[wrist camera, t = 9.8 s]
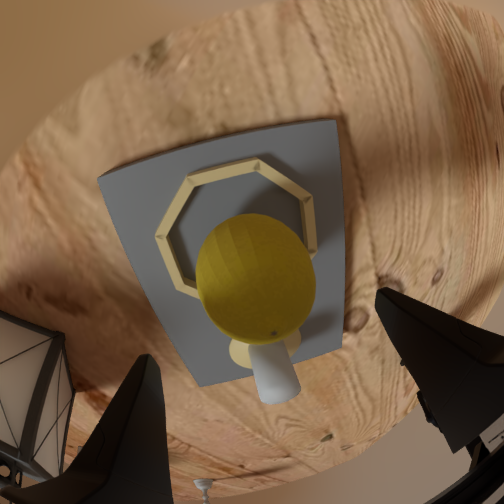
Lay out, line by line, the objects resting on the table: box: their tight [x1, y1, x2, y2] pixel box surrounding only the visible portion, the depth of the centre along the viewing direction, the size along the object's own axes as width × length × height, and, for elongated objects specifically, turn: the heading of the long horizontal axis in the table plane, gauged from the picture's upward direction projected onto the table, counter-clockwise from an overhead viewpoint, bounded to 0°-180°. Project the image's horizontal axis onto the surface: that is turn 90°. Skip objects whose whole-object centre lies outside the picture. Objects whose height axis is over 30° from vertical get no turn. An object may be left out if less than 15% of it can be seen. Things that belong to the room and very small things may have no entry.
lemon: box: [196, 213, 316, 345], centre depth 13 cm, size 6×6×8 cm
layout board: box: [97, 119, 345, 404], centre depth 17 cm, size 14×20×6 cm
